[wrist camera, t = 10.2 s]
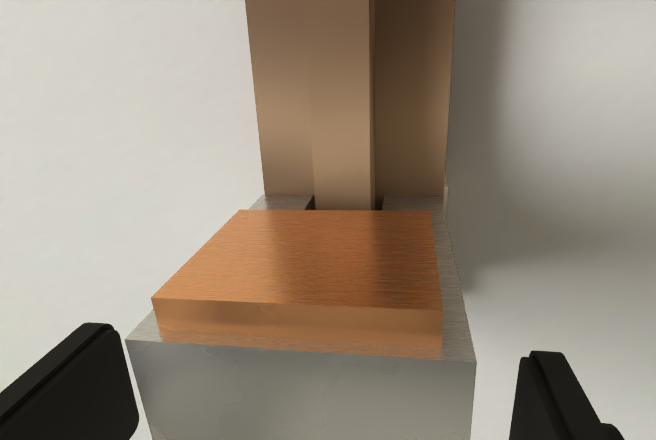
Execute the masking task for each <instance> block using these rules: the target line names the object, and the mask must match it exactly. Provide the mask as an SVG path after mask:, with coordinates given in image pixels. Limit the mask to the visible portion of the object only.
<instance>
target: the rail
mask: <svg viewBox="0 0 656 440" xmlns="http://www.w3.org/2000/svg"><path fill="white" fill-rule="evenodd" d="M245 4H246V14H247V24H248V33H249V43H250V53H251V63H252V72H253V82H254V92H255V102H256V111H257V121H258V131H259V141H260V151H261V160H262V170H263V180H264V190H265V195H313V200H314V210H382V207H383V200H384V195H441V199H442V204H443V208H444V213H445V218H446V217H447V201H448V184H447V181H446V177H445V165H446V149H447V132H448V115H449V98H450V82H451V65H452V48H453V32H454V15H455V0H245Z"/></svg>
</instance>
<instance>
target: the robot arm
mask: <svg viewBox="0 0 656 440" xmlns="http://www.w3.org/2000/svg"><path fill="white" fill-rule="evenodd" d="M138 422H139V413H138V409H137V405H136V401H135V397H134V393H133V388H132V384H131V380H130V376H129V372H128V368H127V364H126V360H125V355H124V351H123V347H122V343H121V339H120V335H119V333H118V332H117V331H115V330H114V327H113V326H112V325H110V324H104V323H84V324H82V325H81V326H80V327H78V328H77V329H76V330H75V331H74V332H72V333H71V334H70V335H69V336H68V337H67V338H65V339H64V340H63V341H62V342H61V343H59V344H58V345H57V346H56V347H55V348H53V349H52V350H51V351H50V352H49V353H47V354H46V355H45V356H44V357H43V358H41V359H40V360H39V361H38V362H37V363H35V364H34V365H33V366H32V367H31V368H29V369H28V370H27V371H26V372H25V373H23V374H22V375H21V376H20V377H19V378H18V379H16V380H15V381H14V382H13V383H12V384H10V385H9V386H8V387H7V388H6V389H4V390H3V391H2V392H1V393H0V440H129V439H130V438H131V437H132V435H133V434H134V432H135V431H136V429H137V426H138ZM509 440H624V438H623V436H622V435H621V433H620V432H619V431H618V429H617V428H616V427H615V426H613V425H612V424H606V423H601V422H600V420H599V418H598V416H597V415H596V413H595V411H594V409H593V407H592V405H591V404H590V402H589V400H588V398H587V396H586V394H585V393H584V391H583V389H582V387H581V385H580V384H579V382H578V380H577V378H576V376H575V374H574V373H573V371H572V369H571V367H570V365H569V363H568V362H567V360H566V358H565V356H564V355H563V354H562V353H561V352H549V351H531V353H530V355H529V357H522V358H521V359H520V364H519V371H518V379H517V386H516V393H515V400H514V407H513V414H512V421H511V429H510V436H509Z"/></svg>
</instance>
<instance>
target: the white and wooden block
mask: <svg viewBox="0 0 656 440" xmlns="http://www.w3.org/2000/svg"><path fill="white" fill-rule="evenodd" d="M151 300H152V304H153V308H154V309H153V310H152V311H151V312H150V313H149V314H148V315H147V316H146V318H145V319H144V320H143V321H142V322H141V323H140V324H139V325H138V326H137V327H136V328H135V329H134V330H133V331H132V332H131V333H130V334H129V335H128V336H127V337H126V338H125V343H126V346H127V350H128V353H129V357H130V361H131V364H132V368H133V371H134V375H135V378H136V382H137V385H138V389H139V392H140V396H141V400H142V403H143V407H144V410H145V414H146V417H147V421H148V424H149V428H150V432H151V435H152V439H153V440H470V435H471V423H472V411H473V400H474V388H475V376H476V364H477V361H476V357H475V352H474V347H473V343H472V338H471V333H470V329H469V324H468V320H467V315H466V310H465V306H464V301H463V296H462V292H461V287H460V282H459V278H458V273H457V269H456V264H455V259H454V255H453V250H452V245H451V241H450V236H449V232H448V227H447V222H446V218H445V213H444V208H443V204H442V199H441V195H384V200H383V207H382V210H314V200H313V195H262V196H261V197H260V198H259V199H258V200H257V201H256V202H255V203H254V204H253V205H252V206H251V207H250V209H249V210H239V211H238V212H237V213H236V214H235V215H234V216H233V217H232V218H231V219H230V220H229V221H228V222H227V223H226V224H225V225H224V226H223V227H222V228H221V229H220V230H219V231H218V232H217V233H216V234H215V235H214V236H213V237H212V238H211V239H210V240H209V241H208V242H207V243H206V244H205V245H204V246H203V247H202V248H201V249H200V250H199V251H198V252H197V253H196V254H195V255H194V256H193V257H192V258H190V259H189V260H188V261H187V262H186V263H185V264H184V265H183V266H182V267H181V268H180V269H179V270H178V271H177V272H176V273H175V274H174V275H173V276H172V277H171V278H170V279H169V280H168V281H167V282H166V283H165V284H164V285H163V286H162V287H161V288H160V289H159V290H158V291H157V292H156V293H155V294H154V295H153V296H152V297H151Z"/></svg>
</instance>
